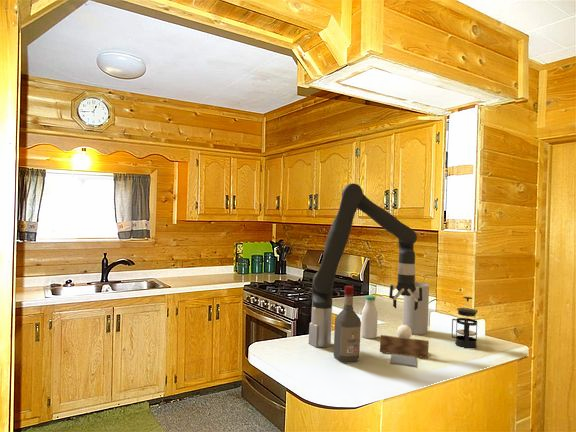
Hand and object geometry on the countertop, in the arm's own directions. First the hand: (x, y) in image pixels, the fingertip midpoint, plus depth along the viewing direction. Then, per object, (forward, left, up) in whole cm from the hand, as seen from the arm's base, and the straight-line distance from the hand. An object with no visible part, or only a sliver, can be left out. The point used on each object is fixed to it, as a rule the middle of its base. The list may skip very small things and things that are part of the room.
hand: (405, 309), depth 181 cm
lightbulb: (0, 0, -18) cm, 18 cm away
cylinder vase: (+27, +18, -18) cm, 37 cm away
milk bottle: (-2, +21, -18) cm, 28 cm away
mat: (-12, -11, -18) cm, 24 cm away
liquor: (-32, +1, -18) cm, 37 cm away
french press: (+32, -8, -18) cm, 38 cm away
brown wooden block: (-5, -5, -18) cm, 20 cm away
